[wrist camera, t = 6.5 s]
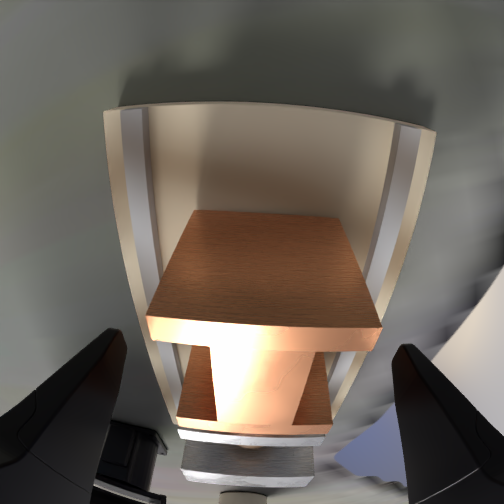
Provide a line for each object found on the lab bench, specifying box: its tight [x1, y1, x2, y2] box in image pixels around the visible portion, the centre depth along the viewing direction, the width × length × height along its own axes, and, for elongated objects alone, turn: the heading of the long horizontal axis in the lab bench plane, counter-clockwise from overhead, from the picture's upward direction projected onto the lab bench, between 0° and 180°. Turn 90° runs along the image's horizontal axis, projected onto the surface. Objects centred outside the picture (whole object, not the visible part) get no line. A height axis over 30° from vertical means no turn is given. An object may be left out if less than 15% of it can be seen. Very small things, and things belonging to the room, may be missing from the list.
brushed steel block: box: [181, 439, 314, 487], centre depth 17 cm, size 3×8×5 cm, turn 88°
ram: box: [145, 210, 382, 446], centre depth 11 cm, size 10×7×5 cm
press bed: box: [103, 102, 437, 425], centre depth 15 cm, size 22×12×2 cm, turn 178°
